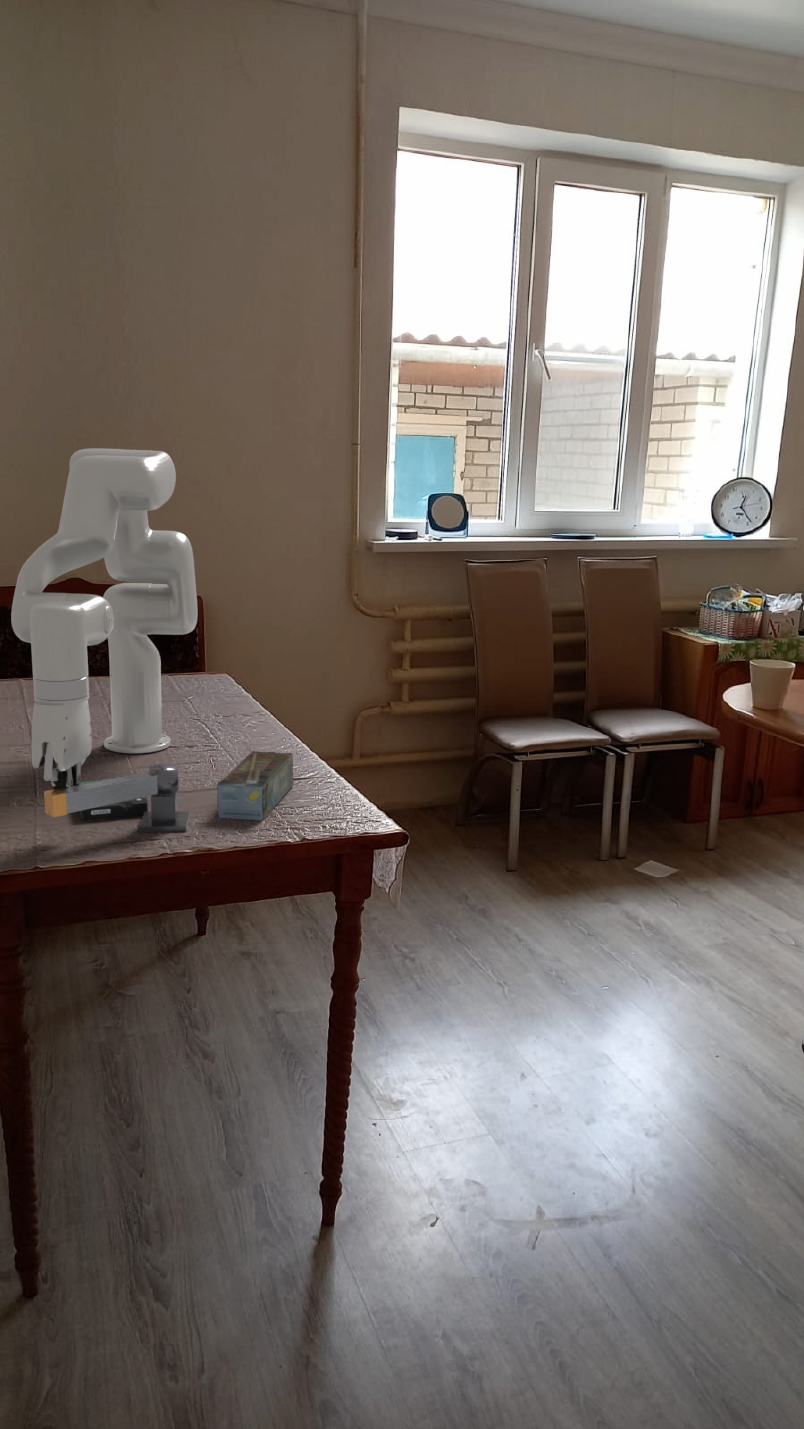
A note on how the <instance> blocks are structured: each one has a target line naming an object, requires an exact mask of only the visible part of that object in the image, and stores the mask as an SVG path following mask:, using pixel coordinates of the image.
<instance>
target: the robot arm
mask: <svg viewBox="0 0 804 1429" xmlns="http://www.w3.org/2000/svg"><path fill="white" fill-rule="evenodd" d="M68 464H69V465H68V466H69V472H68V476H67V482H66V486H65V490H64V491H65V493H64V497H63V503H62V509H61V514H60V519H59V524H58V531H57V532H56V533H55V535H53V536H52V537H50V538H48V539H47V540H46V541H45V542H43V543H42V544H41V545H40V546H39V547H37V549H36V550H34V552H33V553H32V554H31V555H29V557H28V558H27V559H26V561H25V562H24V563H23V565H22V566H21V569H20V571H19V573H18V575H17V581H16V585H15V589H14V594H13V598H12V599H13V600H12V605H11V612H10V613H11V614H10V616H11V619H10V620H11V627H12V630H13V632H14V634H15V635H16V637H17V638H19V640H20V641H23V642H25V643H29V644H30V646H31V663H32V664H31V665H32V680H33V681H32V682H33V700H34V704H33V709H32V711H33V712H32V719H31V720H32V721H31V763H32V767H33V769H35V770H42V769H43V768H44V770H43V780H44V781H46V782H51V786H52V787H53V790H54V789H63V788H68V787H73V786H78V785H79V781H81V769H82V765H84V764H85V761H86V760H87V757H89V756H90V754H91V753H92V748H93V747H92V744H93V743H92V724H91V722H92V721H91V715H90V714H91V713H90V706H89V699H90V685H89V664H88V663H89V662H88V659H89V658H88V646H95V645H99V644H101V643H104V642H105V640H107V641H108V643H107V644H108V657H109V658H108V659H109V660H108V661H109V683H110V688H109V690H110V708H111V710H110V712H111V735H110V736H108V737H106V738H105V739H104V741H103V743H104V744H103V745H104V748H105V749H106V750H109V751H111V752H114V753H119V754H120V753H121V754H147V753H148V754H149V753H155V752H159V751H162V750H165V749H167V748H169V747H170V746H171V737H170V736H168V735H167V734H164V733H163V710H162V708H163V706H162V705H163V704H162V703H163V702H162V673H161V672H162V670H161V669H162V668H161V667H162V664H161V663H162V662H161V661H162V660H161V655H160V652H159V650H158V648H157V647H156V645H155V644H154V643H153V641H152V640H151V639H150V638H149V637H148V635H171V636H172V635H173V636H174V635H175V636H176V635H177V636H178V635H187V634H189V633H191V632H193V631H194V630H195V628H196V625H197V624H198V617H199V616H198V610H199V609H198V597H197V585H196V584H197V583H196V572H195V559H194V558H195V557H194V552H193V546H192V543H191V542H190V540H189V538H188V537H187V536H186V534H184V533H182V532H180V531H175V530H157V529H156V530H155V529H154V530H153V529H151V528H150V524H149V517H148V511H149V512H150V511H155V510H158V509H159V508H161V507H162V506H163V505H164V504H166V503H167V502H168V501H169V500H170V498H171V497H172V495H173V493H174V491H175V488H176V483H177V482H176V480H177V474H176V472H177V471H176V467H175V464H174V462H173V459H172V458H171V457H170V455H169V454H168V453H167V452H165V451H161V450H147V449H145V450H143V449H124V448H123V449H122V448H100V447H99V448H92V447H91V448H83V449H79V450H76V451H75V452H73V454H71V457H70V458H69V463H68ZM102 559H104V564H105V568H106V570H107V573H108V575H109V576H110V577H111V578H112V579H113V580H116V581H120V582H123V583H117V584H115V585H112V586H110V587H109V588H107V589H106V591H105V592H104V594H103V596H100V595H98V594H90V593H88V594H87V593H69V592H68V593H67V592H43V591H44V590H45V588H46V587H47V586H48V585H49V584H50V583H51V582H53V581H54V580H55V579H56V578H58V577H60V576H62V575H64V574H66V573H68V572H71V571H74V570H77V569H79V568H82V567H85V566H87V565H91V564H92V563H95V562H97V561H99V560H102Z"/></svg>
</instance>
